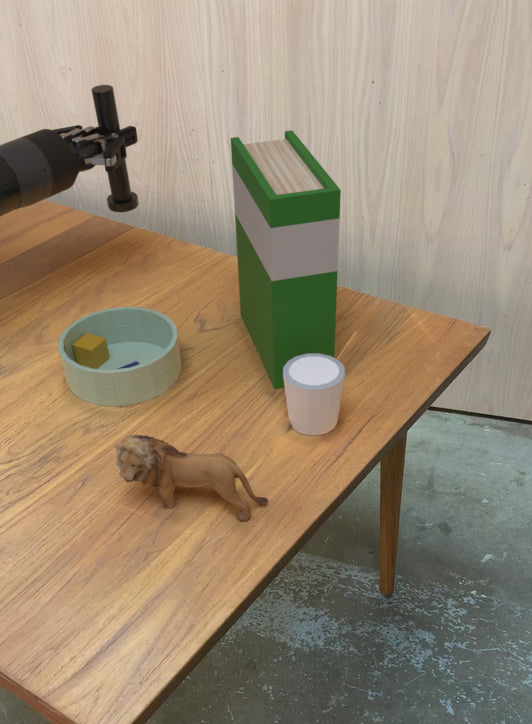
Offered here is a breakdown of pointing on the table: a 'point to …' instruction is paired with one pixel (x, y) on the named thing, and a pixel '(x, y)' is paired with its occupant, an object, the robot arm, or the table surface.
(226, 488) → the lion figurine
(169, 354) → the bowl
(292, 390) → the white cup
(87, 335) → the mustard block
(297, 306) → the hardback book
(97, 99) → the black flashlight
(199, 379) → the table surface
